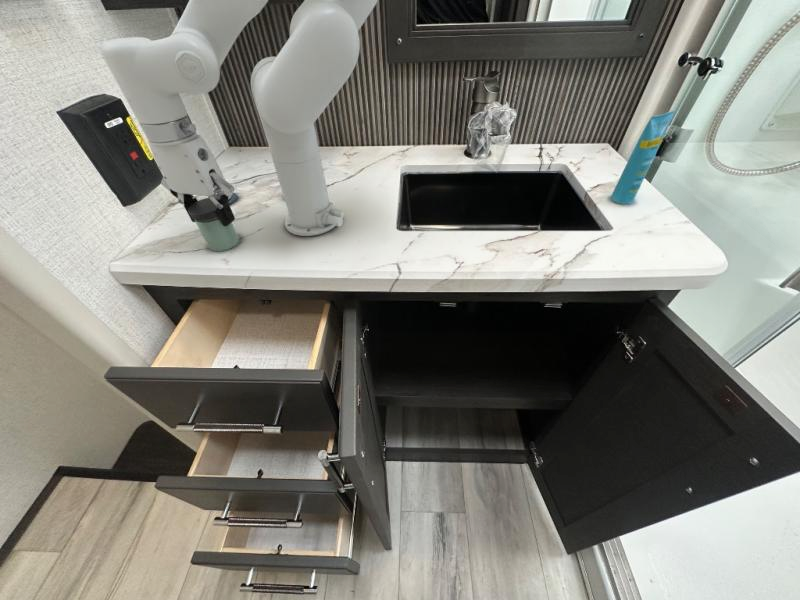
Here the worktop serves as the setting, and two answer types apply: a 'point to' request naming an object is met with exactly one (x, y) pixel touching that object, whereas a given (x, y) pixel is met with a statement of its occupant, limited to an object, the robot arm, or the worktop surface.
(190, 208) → the lid
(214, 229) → the jar
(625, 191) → the tube
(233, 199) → the coaster
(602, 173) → the worktop surface
